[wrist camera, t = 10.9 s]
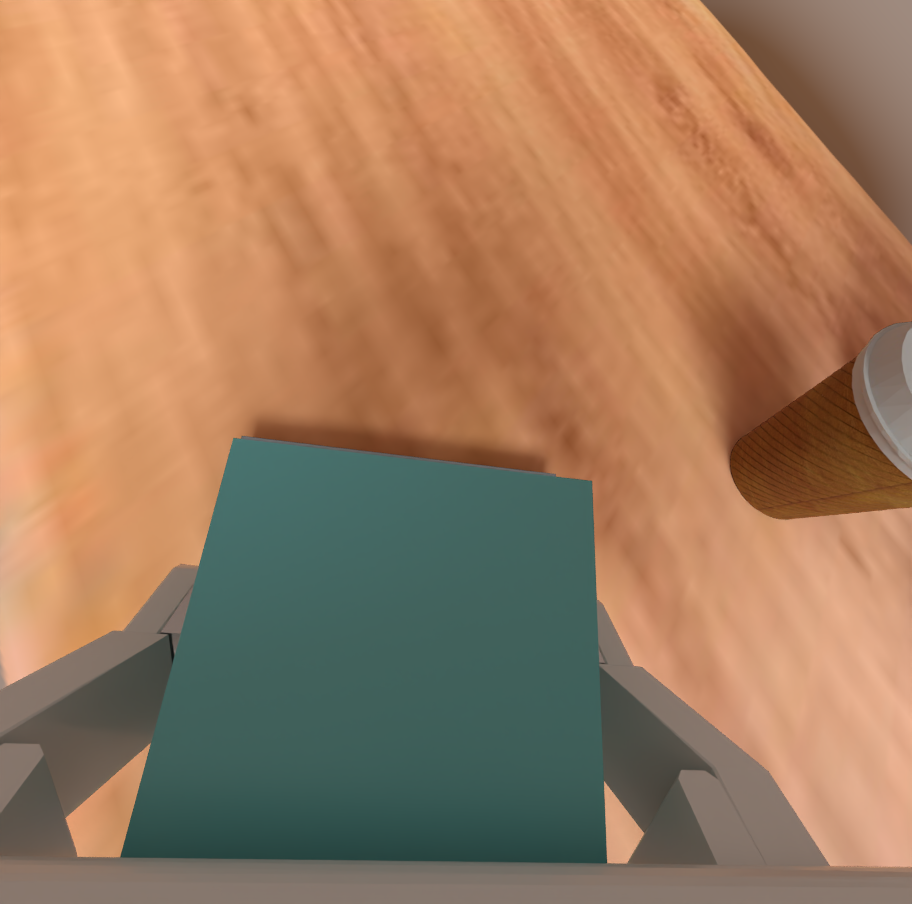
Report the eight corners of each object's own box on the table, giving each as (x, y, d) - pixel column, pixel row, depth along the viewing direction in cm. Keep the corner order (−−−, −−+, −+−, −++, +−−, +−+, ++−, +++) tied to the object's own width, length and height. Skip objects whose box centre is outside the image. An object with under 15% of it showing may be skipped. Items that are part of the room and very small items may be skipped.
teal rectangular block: (314, 538, 13) (232, 437, 6) (479, 553, 14) (591, 480, 7) (279, 731, 12) (98, 935, 4) (470, 740, 12) (609, 931, 5)
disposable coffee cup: (772, 393, 34) (966, 282, 22) (859, 505, 31) (1123, 442, 20) (681, 444, 31) (851, 345, 20) (770, 570, 28) (1018, 539, 17)
